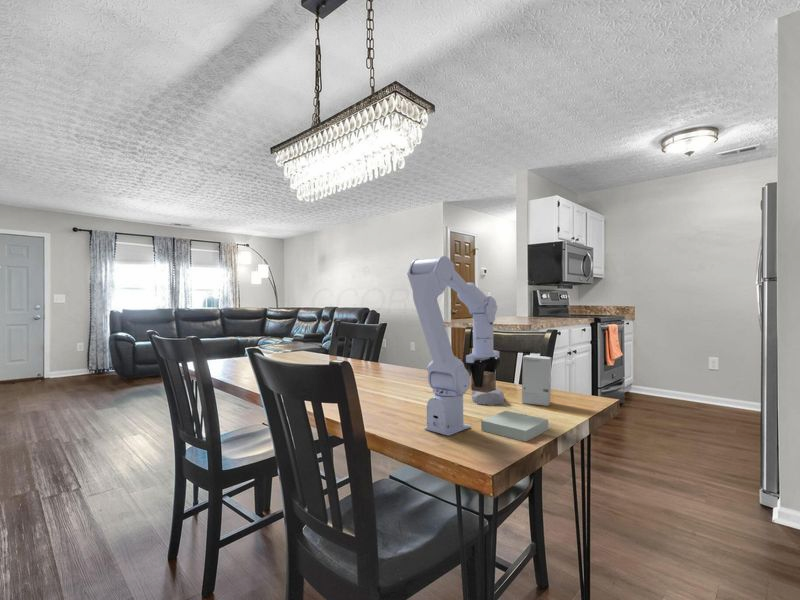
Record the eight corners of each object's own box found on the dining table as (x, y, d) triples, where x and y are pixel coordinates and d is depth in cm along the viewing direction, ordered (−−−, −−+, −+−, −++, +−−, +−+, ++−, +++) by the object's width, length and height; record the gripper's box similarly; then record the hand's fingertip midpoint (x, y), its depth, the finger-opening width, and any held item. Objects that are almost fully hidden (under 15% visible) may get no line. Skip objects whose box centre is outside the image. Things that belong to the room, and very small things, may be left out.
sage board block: (525, 443, 92) (525, 430, 92) (481, 432, 100) (481, 420, 100) (548, 431, 100) (548, 419, 100) (505, 421, 109) (505, 410, 109)
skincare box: (521, 403, 126) (521, 356, 126) (525, 399, 131) (524, 354, 131) (549, 406, 122) (549, 358, 122) (552, 402, 127) (551, 355, 127)
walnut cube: (486, 392, 111) (486, 374, 111) (471, 390, 114) (471, 372, 114) (495, 390, 115) (495, 372, 115) (480, 387, 118) (480, 370, 118)
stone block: (476, 411, 125) (507, 404, 124) (472, 396, 125) (504, 389, 125) (471, 403, 137) (499, 397, 136) (468, 389, 137) (496, 383, 137)
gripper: (481, 340, 107) (481, 391, 106) (508, 336, 117) (508, 383, 117) (459, 339, 111) (460, 387, 111) (487, 335, 122) (487, 380, 122)
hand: (483, 385), depth 114 cm, fingers closed on walnut cube, 5 cm apart
